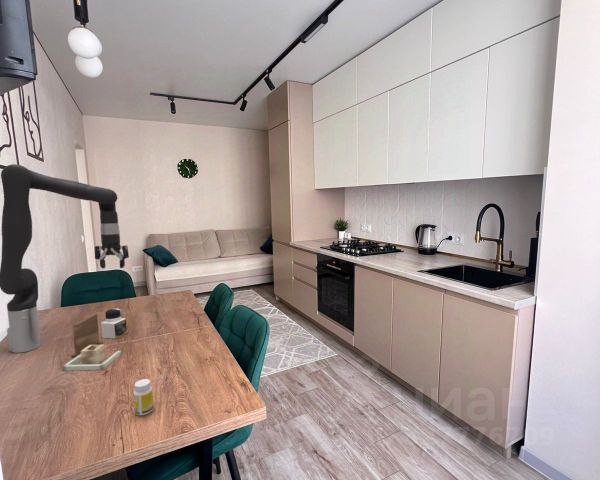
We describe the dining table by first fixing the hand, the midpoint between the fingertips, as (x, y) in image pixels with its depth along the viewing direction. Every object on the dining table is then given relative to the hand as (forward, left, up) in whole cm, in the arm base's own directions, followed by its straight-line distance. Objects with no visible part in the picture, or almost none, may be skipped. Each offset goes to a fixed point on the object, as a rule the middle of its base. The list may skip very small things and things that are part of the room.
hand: (112, 267), depth 151 cm
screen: (-1, -21, -30) cm, 37 cm away
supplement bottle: (+41, -63, -30) cm, 81 cm away
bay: (+8, -31, -30) cm, 44 cm away
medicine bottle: (+2, -6, -30) cm, 31 cm away
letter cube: (+8, -32, -30) cm, 44 cm away
